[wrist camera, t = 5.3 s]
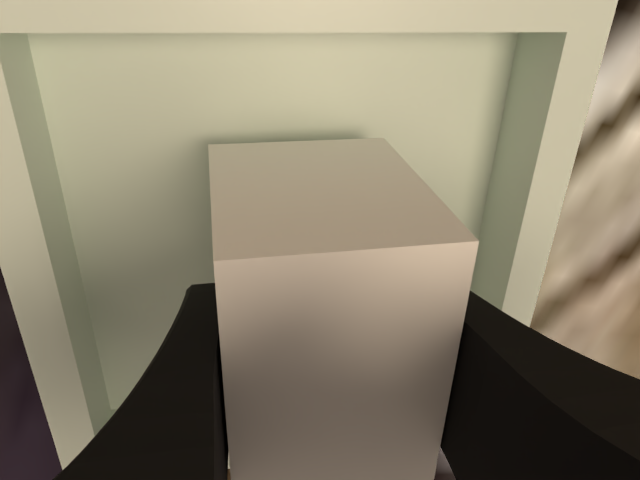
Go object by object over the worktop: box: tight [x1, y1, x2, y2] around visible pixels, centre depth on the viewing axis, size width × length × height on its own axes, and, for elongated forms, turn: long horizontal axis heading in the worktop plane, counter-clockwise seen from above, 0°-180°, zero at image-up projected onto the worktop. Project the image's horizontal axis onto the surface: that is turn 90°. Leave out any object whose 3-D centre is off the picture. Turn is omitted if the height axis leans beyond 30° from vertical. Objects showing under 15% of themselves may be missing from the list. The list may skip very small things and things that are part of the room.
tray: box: [0, 0, 618, 470], centre depth 14 cm, size 13×13×2 cm
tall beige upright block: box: [208, 138, 479, 480], centre depth 12 cm, size 4×8×5 cm, turn 179°
